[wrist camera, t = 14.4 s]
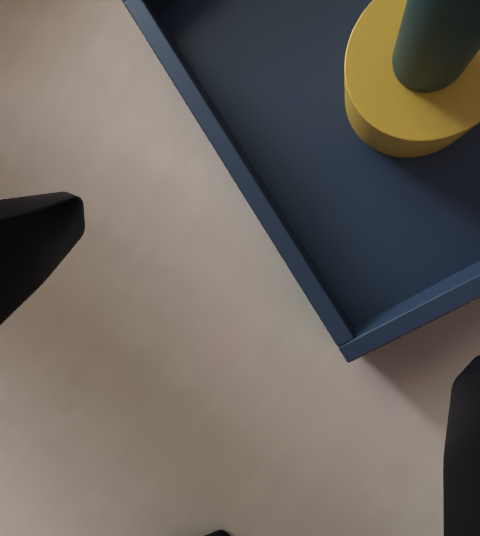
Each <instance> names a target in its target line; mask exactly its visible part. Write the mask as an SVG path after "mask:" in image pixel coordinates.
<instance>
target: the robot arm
mask: <svg viewBox="0 0 480 536" xmlns="http://www.w3.org/2000/svg"><path fill="white" fill-rule="evenodd" d="M84 230H85V220H84V207H83V201H82V199H81V198H80V197H78V196H75V195H73V194H70V193H68V192H56V193H48V194H41V195H33V196H25V197H18V198H10V199H2V200H0V325H1V324H2V323H3V322H4V321H5V320H6V319H7V318H8V317H9V316H10V315H11V314H12V313H13V312H14V311H15V310H16V309H17V308H18V307H19V306H20V305H21V304H22V303H23V302H25V301H26V300H27V299H28V298H29V297H30V296H31V295H32V294H33V293H34V292H35V291H36V290H37V289H38V288H39V287H40V286H41V285H42V284H43V283H44V281H45V280H46V279H47V278H48V277H49V276H50V275H51V273H52V272H53V271H54V270H55V269H56V267H57V266H58V265H59V264H60V263H61V261H62V260H63V259H64V258H65V257H66V255H67V254H68V253H69V252H70V251H71V249H72V248H73V247H74V246H75V244H76V243H77V242H78V241H79V240H80V238H81V237H82V235H83V233H84ZM443 489H444V536H480V355H478V356H477V357H475V358H474V359H473V360H472V361H471V362H470V364H469V365H468V366H467V367H466V368H465V369H464V370H463V371H462V372H461V373H460V374H459V375H458V377H457V378H456V379H455V381H454V383H453V386H452V391H451V399H450V407H449V415H448V424H447V432H446V440H445V449H444V467H443ZM205 536H230V535H229V534H228V533H227V532H226V531H223V530H218V531H215V532H213V533H210V534H208V535H205Z"/></svg>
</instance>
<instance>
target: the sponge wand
mask: <svg viewBox="0 0 480 536" xmlns="http://www.w3.org/2000/svg"><path fill="white" fill-rule="evenodd" d="M344 87H345V107H346V113H347V116H348V119H349V122H350V124H351V126H352V128H353V129H354V131H355V133H356V134H357V135H358V136H359V137H360V139H361V140H362V141H363V142H365V143H366V144H367V145H368V146H370V147H371V148H373V149H374V150H376V151H378V152H381V153H383V154H386V155H389V156H394V157H404V158H410V157H419V156H424V155H428V154H431V153H434V152H437V151H439V150H441V149H443V148H445V147H447V146H448V145H450V144H452V143H453V142H454V141H456V140H457V139H458V138H460V137H461V136H462V135H464V134H465V133H466V132H468V131H469V130H470V129H471V128H473V127H474V126H475V125H477V124H478V123H479V122H480V0H373V1H372V2H371V3H370V4H369V5H368V7H367V8H366V9H365V10H364V12H363V13H362V15H361V16H360V18H359V19H358V21H357V23H356V24H355V26H354V28H353V30H352V33H351V35H350V38H349V41H348V44H347V48H346V53H345V61H344Z"/></svg>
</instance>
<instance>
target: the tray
mask: <svg viewBox="0 0 480 536" xmlns="http://www.w3.org/2000/svg"><path fill="white" fill-rule="evenodd" d="M122 1H123V3H124V4H125V6H126V8H127V9H128V11H129V12H130V14H131V16H132V17H133V19H134V20H135V22H136V24H137V25H138V27H139V29H140V30H141V32H142V33H143V35H144V37H145V38H146V40H147V41H148V43H149V45H150V46H151V48H152V49H153V51H154V53H155V54H156V56H157V57H158V59H159V61H160V62H161V64H162V65H163V67H164V69H165V70H166V72H167V73H168V75H169V77H170V78H171V80H172V81H173V83H174V85H175V86H176V88H177V89H178V91H179V93H180V94H181V96H182V97H183V99H184V101H185V102H186V104H187V106H188V107H189V109H190V110H191V112H192V114H193V115H194V117H195V118H196V120H197V122H198V123H199V125H200V126H201V128H202V130H203V131H204V133H205V134H206V136H207V138H208V139H209V141H210V142H211V144H212V146H213V147H214V149H215V150H216V152H217V154H218V155H219V157H220V158H221V160H222V162H223V163H224V165H225V166H226V168H227V170H228V171H229V173H230V175H231V176H232V178H233V179H234V181H235V183H236V184H237V186H238V187H239V189H240V191H241V192H242V194H243V195H244V197H245V199H246V200H247V202H248V203H249V205H250V207H251V208H252V210H253V211H254V213H255V215H256V216H257V218H258V219H259V221H260V223H261V224H262V226H263V227H264V229H265V231H266V232H267V234H268V235H269V237H270V239H271V240H272V242H273V243H274V245H275V247H276V248H277V250H278V252H279V253H280V255H281V256H282V258H283V260H284V261H285V263H286V264H287V266H288V268H289V269H290V271H291V272H292V274H293V276H294V277H295V279H296V280H297V282H298V284H299V285H300V287H301V288H302V290H303V292H304V293H305V295H306V296H307V298H308V300H309V301H310V303H311V304H312V306H313V308H314V309H315V311H316V312H317V314H318V316H319V317H320V319H321V321H322V322H323V324H324V325H325V327H326V329H327V330H328V332H329V333H330V335H331V337H332V338H333V340H334V341H335V343H336V345H337V346H339V349H340V351H341V353H342V354H343V356H344V357H345V359H346V361H347V362H351V361H353V360H355V359H357V358H359V357H361V356H363V355H365V354H367V353H369V352H371V351H373V350H375V349H377V348H379V347H381V346H383V345H385V344H387V343H389V342H391V341H393V340H395V339H397V338H399V337H401V336H403V335H405V334H407V333H409V332H411V331H413V330H415V329H417V328H419V327H421V326H423V325H425V324H427V323H429V322H431V321H433V320H435V319H437V318H439V317H441V316H443V315H445V314H447V313H449V312H451V311H453V310H455V309H457V308H459V307H461V306H463V305H465V304H467V303H469V302H471V301H473V300H475V299H477V298H479V297H480V122H479V123H478V124H477V125H475V126H474V127H473V128H471V129H470V130H469V131H468V132H466V133H465V134H464V135H462V136H461V137H460V138H458V139H457V140H456V141H454V142H453V143H452V144H450V145H448V146H447V147H445V148H443V149H441V150H439V151H437V152H434V153H431V154H428V155H424V156H419V157H410V158H404V157H394V156H389V155H386V154H383V153H381V152H378V151H376V150H374V149H373V148H371V147H370V146H368V145H367V144H366V143H365V142H363V141H362V140H361V139H360V137H359V136H358V135H357V134H356V133H355V131H354V129H353V128H352V126H351V124H350V122H349V119H348V116H347V113H346V107H345V87H344V61H345V53H346V48H347V44H348V41H349V38H350V35H351V33H352V30H353V28H354V26H355V24H356V23H357V21H358V19H359V18H360V16H361V15H362V13H363V12H364V10H365V9H366V8H367V7H368V5H369V4H370V3H371V2H372V1H373V0H122Z"/></svg>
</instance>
